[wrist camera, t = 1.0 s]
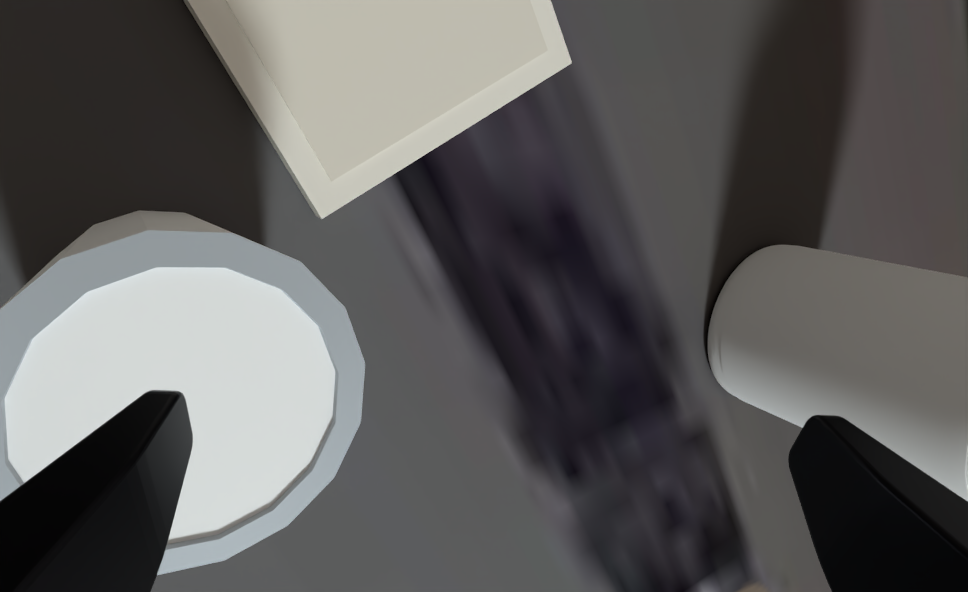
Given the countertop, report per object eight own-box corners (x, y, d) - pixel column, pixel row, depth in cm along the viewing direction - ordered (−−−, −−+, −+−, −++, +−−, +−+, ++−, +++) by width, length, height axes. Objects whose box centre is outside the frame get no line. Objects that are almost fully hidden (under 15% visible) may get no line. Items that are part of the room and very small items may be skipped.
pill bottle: (826, 253, 33) (1268, 343, 20) (779, 397, 34) (1169, 566, 21) (732, 224, 28) (1220, 317, 16) (681, 391, 30) (1099, 597, 17)
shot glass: (-17, 418, 16) (-87, 597, 10) (36, 152, 15) (-7, 181, 9) (258, 432, 20) (322, 568, 14) (312, 220, 19) (405, 271, 13)
